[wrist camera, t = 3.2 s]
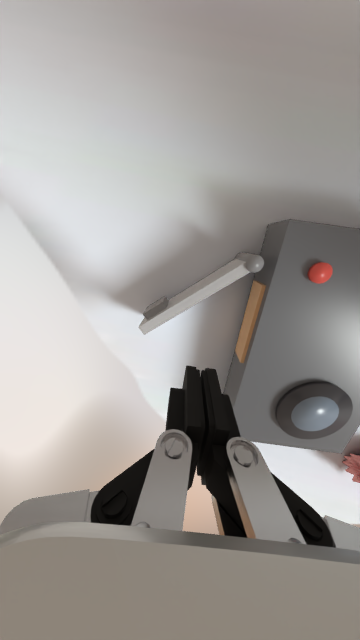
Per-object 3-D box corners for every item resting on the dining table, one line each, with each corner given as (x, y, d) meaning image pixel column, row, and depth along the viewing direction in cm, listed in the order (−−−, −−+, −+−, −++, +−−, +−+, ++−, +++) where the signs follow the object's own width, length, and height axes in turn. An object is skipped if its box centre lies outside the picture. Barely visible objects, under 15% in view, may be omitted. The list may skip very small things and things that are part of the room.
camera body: (411, 244, 16) (485, 245, 12) (318, 422, 24) (345, 459, 20) (264, 223, 16) (289, 217, 12) (217, 408, 24) (222, 442, 20)
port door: (251, 261, 17) (266, 266, 14) (153, 320, 20) (145, 337, 16) (242, 245, 17) (257, 245, 13) (143, 307, 19) (133, 322, 16)
